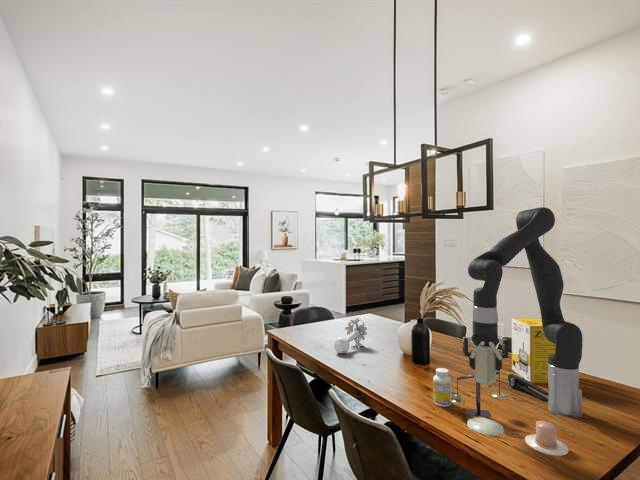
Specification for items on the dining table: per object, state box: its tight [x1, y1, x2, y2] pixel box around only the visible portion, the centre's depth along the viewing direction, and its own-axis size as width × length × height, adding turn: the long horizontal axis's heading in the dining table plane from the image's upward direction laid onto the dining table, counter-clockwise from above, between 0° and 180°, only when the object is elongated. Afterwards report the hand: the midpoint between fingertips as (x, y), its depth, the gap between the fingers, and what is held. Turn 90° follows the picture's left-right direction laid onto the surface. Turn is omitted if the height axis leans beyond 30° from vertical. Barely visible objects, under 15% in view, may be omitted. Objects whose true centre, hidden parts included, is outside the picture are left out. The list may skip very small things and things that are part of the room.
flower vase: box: [333, 317, 368, 354], centre depth 202 cm, size 13×18×25 cm
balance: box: [450, 371, 508, 418], centre depth 125 cm, size 19×5×16 cm, turn 80°
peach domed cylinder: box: [535, 420, 558, 450], centre depth 105 cm, size 6×6×6 cm
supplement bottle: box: [432, 367, 453, 408], centre depth 135 cm, size 7×7×13 cm
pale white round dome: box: [466, 417, 505, 436], centre depth 116 cm, size 11×11×1 cm
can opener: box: [507, 373, 548, 402], centre depth 144 cm, size 18×7×6 cm, turn 18°
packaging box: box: [511, 317, 556, 384], centre depth 161 cm, size 16×16×25 cm
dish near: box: [524, 433, 569, 457], centre depth 105 cm, size 11×11×1 cm
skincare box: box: [473, 344, 497, 386], centre depth 116 cm, size 6×4×12 cm
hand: (485, 369), depth 116 cm, fingers closed on skincare box, 7 cm apart
